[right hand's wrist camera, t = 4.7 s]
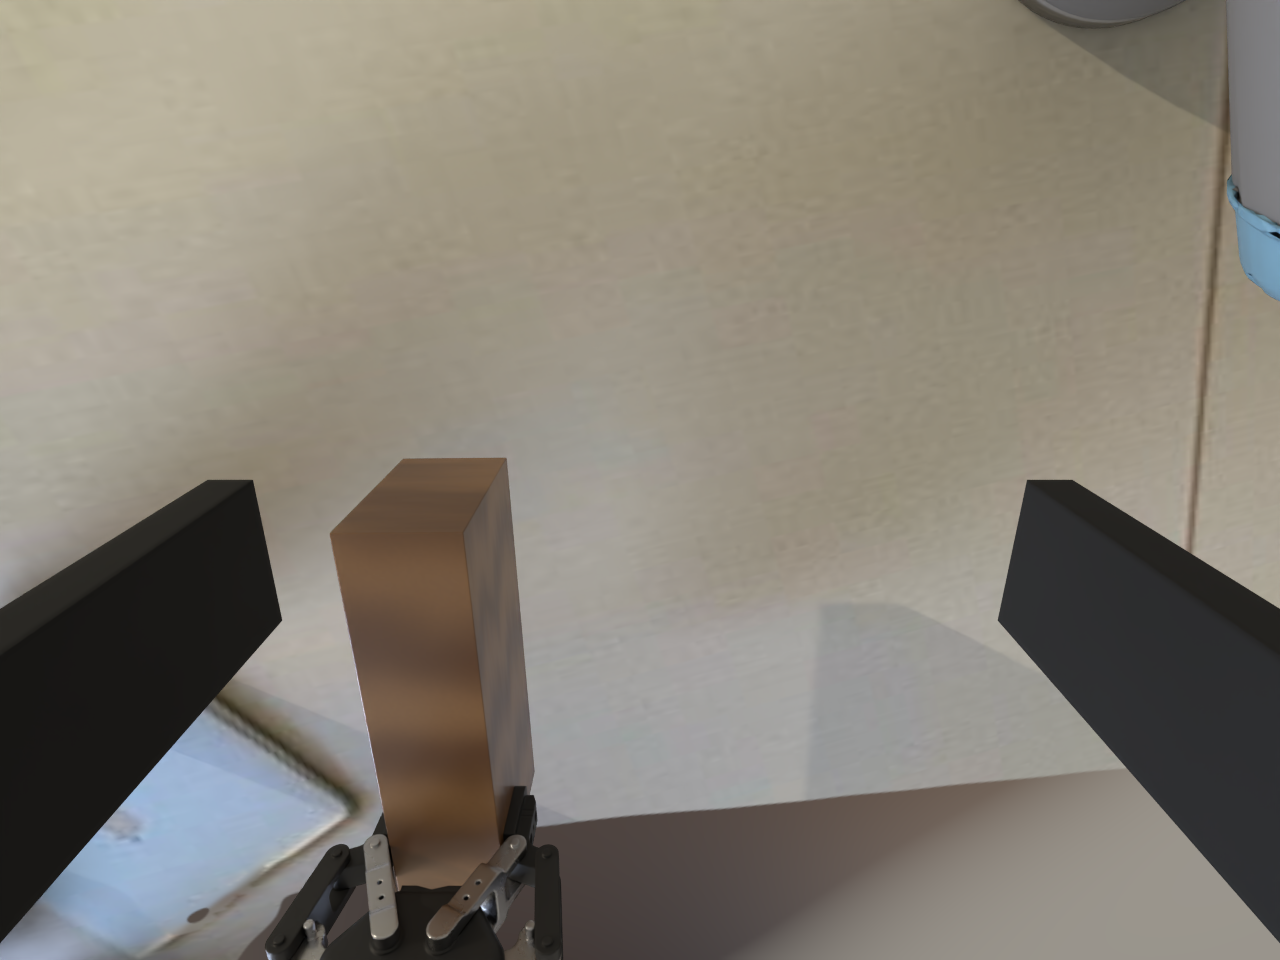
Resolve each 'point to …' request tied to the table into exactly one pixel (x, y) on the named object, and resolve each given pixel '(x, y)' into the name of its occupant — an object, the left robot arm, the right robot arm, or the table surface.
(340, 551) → the box
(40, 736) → the right robot arm
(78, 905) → the table surface
